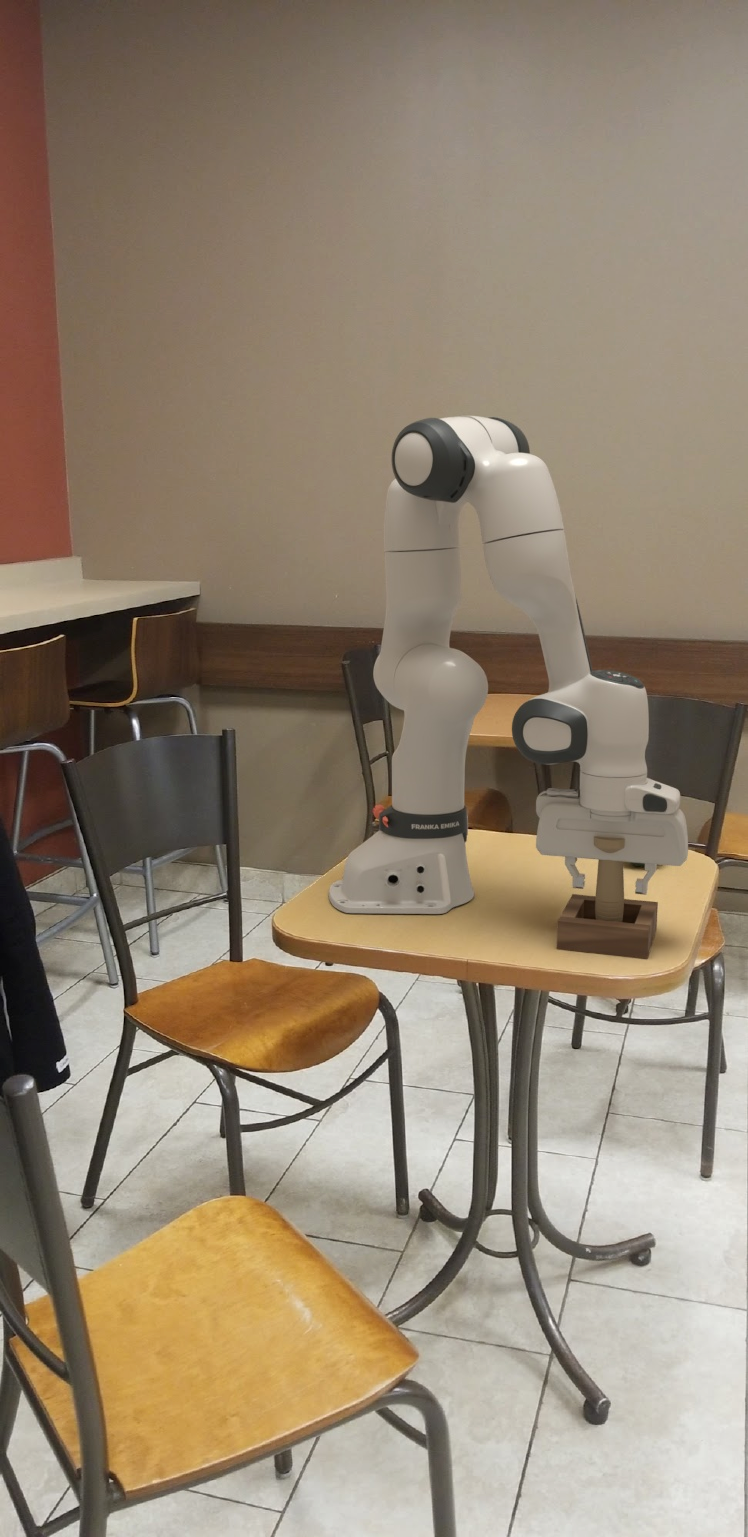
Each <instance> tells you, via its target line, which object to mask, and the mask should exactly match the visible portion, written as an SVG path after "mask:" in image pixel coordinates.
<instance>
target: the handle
mask: <svg viewBox="0 0 748 1537" xmlns="http://www.w3.org/2000/svg"><path fill="white" fill-rule="evenodd" d="M594 846H595V847H597V848H598V849H600V850H601V851H604V852H606V853H615V852H617V851H619V850H621V849H623V848H624V846H625V839H623V838H609V837H596V836H594ZM596 876H597V878H596V886H595V895H594V896H595V897H596V898H595V902H596V903H595V911H596V912H595V915H596V920H604V921H614V922H622V921H623V911H624V899H625V884H624V883H625V882H624V881H625V879H624V877H625V876H624V862H622V861H613V860H598V864H597V875H596Z"/></svg>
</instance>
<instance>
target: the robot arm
mask: <svg viewBox="0 0 748 1537" xmlns="http://www.w3.org/2000/svg"><path fill="white" fill-rule="evenodd" d="M391 450H392V451H391V468H392V472H393V475H394V477H395V478H394V479H393V480H392V481H391V483H390V484H389V486H388V488H387V492H386V499H385V506H384V518H383V552H384V574H385V575H384V576H385V594H386V595H385V597H386V598H385V600H386V602H385V616H384V622H383V623H384V625H383V630H382V631H383V632H382V639H381V646H380V651H379V655H377V657H376V659H375V661H374V662H375V663H374V665H373V671H372V672H373V681H374V684H375V687H376V689H377V690H378V691H379V694H381V696H382V697H383V698H384V699H385V700H386V701H387V702H388V703H389V704H390V705H392V706H393V707H395V708H396V709H399V710H401V711H403V712H404V713H403V714H404V715H403V717H404V720H403V725H402V731H401V735H400V738H399V739H400V740H399V743H398V745H397V748H396V749H395V750H394V752H393V754H392V756H391V803H392V804H390V805H389V806H388V807H384V805H383V804H377V805H375V806H374V807H373V809H372V813H373V815H374V817H375V818H376V819H377V820H378V829H379V830H378V831H377V832H376V833H374V834H373V835H371V837H369V838H368V839H366V840H365V841H364V842H363V843H360V844H359V846H357V847H356V848H355V849H353V850H352V851H351V852H350V853H349V854H348V856H347V858H346V861H345V864H344V869H343V872H342V873H343V875H342V879H340V880H339V879H338V880H336V881H334V882H333V883H331V885H330V886H329V889H328V898H329V902H330V903H331V906H333V907H334V908H335V909H337V910H338V911H340V912H343V913H347V914H391V915H393V914H403V915H404V914H405V915H406V914H409V915H411V914H414V915H415V914H417V915H419V914H420V915H427V914H428V915H441V914H446V913H447V912H449V911H450V910H452V909H453V908H455V907H458V906H461V905H463V904H466V903H468V902H470V901H472V900H473V899H474V897H475V891H474V888H473V884H472V881H471V876H470V872H469V871H470V870H469V865H468V859H467V857H468V856H467V848H466V843H467V840H468V839H467V838H468V834H469V815H468V814H469V813H468V807H467V806H466V805H465V776H466V773H465V772H466V771H465V769H466V767H465V766H466V757H467V756H466V755H467V749H468V746H469V744H468V743H469V741H470V735H471V731H472V728H473V725H474V721H475V718H476V716H477V715H478V713H479V712H481V710H482V709H483V707H484V705H485V703H486V701H487V698H488V693H489V683H488V678H487V674H486V673H485V670H483V668H482V666H481V665H480V664H479V663H478V662H477V661H475V660H474V659H473V658H472V657H470V656H469V655H468V654H466V653H465V652H463V651H461V650H460V649H456V648H453V647H450V639H451V638H450V637H451V633H452V632H451V631H452V627H453V622H454V621H453V620H454V617H455V615H456V612H457V610H458V608H459V607H460V605H461V602H462V598H463V596H462V575H461V573H462V570H461V550H460V549H461V548H460V546H461V545H460V530H459V528H460V527H459V519H460V514H461V511H462V509H463V508H464V506H465V505H466V504H467V503H469V504H470V505H472V507H473V508H474V510H475V512H476V513H477V516H478V522H479V526H480V527H479V528H480V535H481V542H482V549H483V556H484V560H485V566H486V570H487V573H488V576H489V578H490V581H491V582H490V583H491V584H492V587H493V589H494V590H495V592H496V593H497V594H498V595H499V596H500V598H502V599H504V600H505V601H506V602H508V603H509V604H511V605H513V606H514V607H516V608H517V609H519V610H520V611H521V612H523V613H524V614H525V615H526V616H527V617H528V618H529V619H530V621H531V622H532V623H533V625H534V627H535V629H536V632H537V634H538V638H539V642H540V645H541V651H542V656H543V658H544V664H545V668H546V673H547V677H548V691H547V692H545V693H542V694H539V695H537V696H534V697H532V698H530V699H528V700H527V701H526V702H523V704H521V705H520V706H519V708H518V709H517V710H516V711H515V714H514V716H513V718H512V722H511V735H512V739H513V742H514V745H515V747H516V749H517V750H518V752H519V753H520V754H521V756H523V757H524V758H525V759H527V760H528V761H530V762H532V763H534V764H539V765H557V764H563V763H569V762H570V763H571V762H576V763H578V764H579V766H580V767H579V789H570V788H568V789H567V788H564V789H559V788H555V787H552V788H551V787H550V788H546V790H543V791H541V792H539V794H538V795H537V796H536V798H535V799H536V800H535V813H536V816H538V818H539V819H538V823H537V830H536V838H535V839H536V841H535V848H536V850H537V851H538V853H539V854H540V855H542V856H552V857H562V858H564V866H565V867H566V869H567V870H568V873H569V875H570V876H571V877H572V880H571V881H572V882H571V883H572V884H571V888H572V889H580V890H583V889H584V888H585V887H586V881H585V879H586V873H580V872H579V870H578V867H577V866H576V863H577V862H578V859H586V860H587V859H588V860H598V861H599V860H613V861H622V862H623V863H629V862H634V863H645V866H644V871H645V872H646V873H645V875H644V876H643V878H640V877H639V878H636V880H635V891H634V892H635V895H645V896H646V895H647V894H648V889H649V888H648V887H649V881H650V880H651V879H652V877H653V876H654V874H655V873H656V871H657V867H658V865H661V866H671V867H672V866H673V867H674V866H675V867H681V866H682V865H684V864H685V862H686V861H687V860H688V855H689V839H688V838H689V837H688V827H687V820H686V816H685V814H684V812H683V810H681V809H680V808H679V807H680V804H681V793H680V791H679V789H678V788H675V787H673V786H671V785H667V784H665V783H662V782H660V781H657V780H655V779H654V780H653V779H651V778H649V777H648V767H647V762H646V758H645V757H646V749H647V746H648V743H649V734H650V733H649V732H650V730H649V728H650V727H649V726H650V723H649V722H650V721H649V720H650V719H649V717H650V716H649V715H650V713H649V701H648V694H647V693H648V692H647V690H646V687H645V685H644V683H643V682H642V681H641V680H640V679H639V678H637V677H635V676H634V675H632V674H629V673H625V672H621V671H618V670H617V671H616V670H608V669H596V670H593V665H592V661H591V658H590V657H591V656H590V651H589V646H588V642H587V637H586V634H585V629H584V624H583V619H582V615H581V610H580V607H579V603H578V599H577V597H576V592H575V587H574V582H573V578H572V574H571V573H572V571H571V567H570V560H569V553H568V546H567V545H568V544H567V539H566V533H565V527H564V520H563V516H562V511H561V510H562V509H561V506H560V502H559V499H558V498H559V497H558V495H557V491H556V488H555V485H554V481H553V478H552V476H551V473H550V470H549V468H548V466H547V464H546V463H545V462H544V460H543V459H541V458H540V457H538V456H536V455H534V454H531V452H530V445H529V442H528V439H527V437H526V435H525V434H524V432H523V431H522V430H521V428H519V427H518V426H517V425H516V424H515V423H512V422H510V421H508V420H506V419H503V418H499V417H494V416H493V417H485V416H478V415H468V414H467V415H465V414H463V415H456V416H449V417H448V416H447V417H442V418H441V417H440V418H437V417H427V418H422V419H419V420H416V421H414V422H411V423H410V424H408V425H406V426H405V427H404V428H402V429H401V431H400V432H399V433H398V435H397V437H396V438H395V440H394V442H393V445H392V449H391ZM594 836H596V837H609V838H623V839H625V846H624V848H623V849H621V850H619V851H617V852H615V853H606V852H604V851H601V850H600V849H598V848H597V847H595V846H594Z"/></svg>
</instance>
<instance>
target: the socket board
mask: <svg viewBox="0 0 748 1537" xmlns="http://www.w3.org/2000/svg"><path fill="white" fill-rule="evenodd" d="M570 896H571V897H570V898H569V900H568V901H567V902H566V905H565V906H564V908H563V910H562V912H561V914H560V915H559V917H558V919H557V923H556V924H557V926H556V927H557V928H556V929H557V930H556V950H563V951H572V952H582V953H590V954H598V955H599V954H600V955H607V956H615V957H616V956H618V957H624V958H625V957H627V958H636V959H637V958H638V959H645V960H648V958H649V955H650V952H651V948H652V946H653V942H654V939H655V936H656V932H657V929H658V911H659V910H658V906H659V905H658V904H659V902H658V901H649V900H640V899H629V898H624V911H623V921H622V922H614V921H604V920H596V915H595V912H596V911H595V903H596V902H595V898H596V897H595V896H596V895H585V894H576V893H575V894H574V893H572V894H571V895H570Z"/></svg>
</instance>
